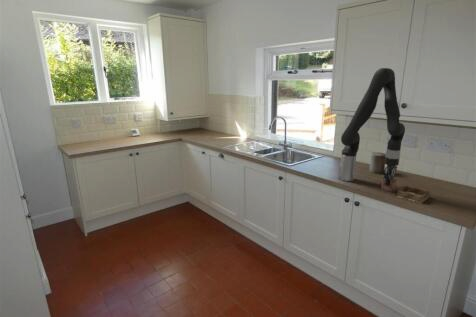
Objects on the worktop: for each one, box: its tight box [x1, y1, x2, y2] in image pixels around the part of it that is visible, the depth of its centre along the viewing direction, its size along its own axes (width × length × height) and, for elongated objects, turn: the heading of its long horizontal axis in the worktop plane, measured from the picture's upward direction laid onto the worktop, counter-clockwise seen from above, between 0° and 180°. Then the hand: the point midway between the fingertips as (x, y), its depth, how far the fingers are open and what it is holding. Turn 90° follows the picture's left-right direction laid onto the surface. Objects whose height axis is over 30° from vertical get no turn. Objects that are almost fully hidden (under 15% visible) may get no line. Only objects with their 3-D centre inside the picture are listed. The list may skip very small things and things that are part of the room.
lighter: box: [380, 175, 398, 193], centre depth 175 cm, size 8×3×10 cm, turn 44°
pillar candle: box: [369, 151, 386, 175], centre depth 209 cm, size 10×10×15 cm
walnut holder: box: [396, 185, 431, 204], centre depth 166 cm, size 13×13×4 cm
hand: (388, 183), depth 175 cm, fingers closed on lighter, 3 cm apart
